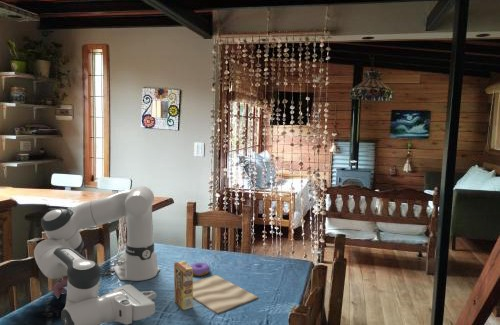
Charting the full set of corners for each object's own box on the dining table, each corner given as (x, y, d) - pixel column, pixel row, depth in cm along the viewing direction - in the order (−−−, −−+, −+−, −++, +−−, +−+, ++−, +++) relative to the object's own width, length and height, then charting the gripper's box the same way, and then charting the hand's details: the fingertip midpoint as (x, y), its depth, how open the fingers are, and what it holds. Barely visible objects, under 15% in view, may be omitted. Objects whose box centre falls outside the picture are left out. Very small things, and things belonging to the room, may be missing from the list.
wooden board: (176, 288, 158) (176, 286, 158) (215, 276, 171) (215, 274, 171) (217, 314, 137) (217, 312, 137) (258, 298, 151) (258, 296, 151)
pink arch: (79, 293, 154) (76, 276, 156) (83, 292, 151) (80, 274, 153) (53, 301, 147) (50, 283, 149) (57, 299, 144) (53, 281, 146)
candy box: (193, 307, 142) (193, 267, 140) (182, 310, 139) (183, 270, 138) (183, 298, 149) (184, 260, 147) (173, 301, 147) (173, 262, 145)
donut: (190, 267, 180) (192, 258, 180) (209, 272, 180) (211, 262, 180) (186, 276, 170) (188, 266, 170) (206, 280, 170) (209, 270, 170)
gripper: (104, 303, 134) (141, 292, 144) (129, 327, 119) (169, 313, 128) (104, 285, 134) (141, 276, 143) (129, 307, 119) (169, 295, 128)
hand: (154, 293), depth 136 cm, fingers closed
